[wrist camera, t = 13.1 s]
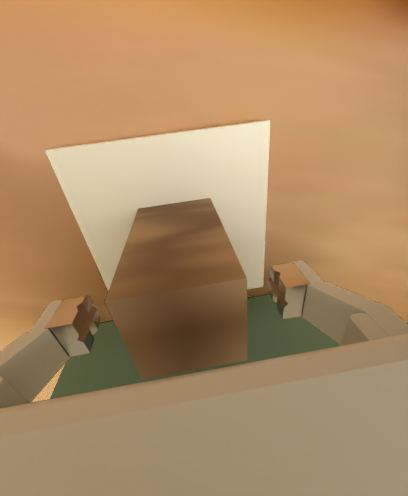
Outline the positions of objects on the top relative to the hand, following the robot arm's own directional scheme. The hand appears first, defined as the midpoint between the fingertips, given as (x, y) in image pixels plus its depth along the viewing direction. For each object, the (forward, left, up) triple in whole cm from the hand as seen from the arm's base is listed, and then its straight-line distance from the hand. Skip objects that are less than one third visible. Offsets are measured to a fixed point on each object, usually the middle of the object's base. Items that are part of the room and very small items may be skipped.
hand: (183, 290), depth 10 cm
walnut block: (0, 0, -6) cm, 6 cm away
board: (0, 0, -7) cm, 7 cm away
